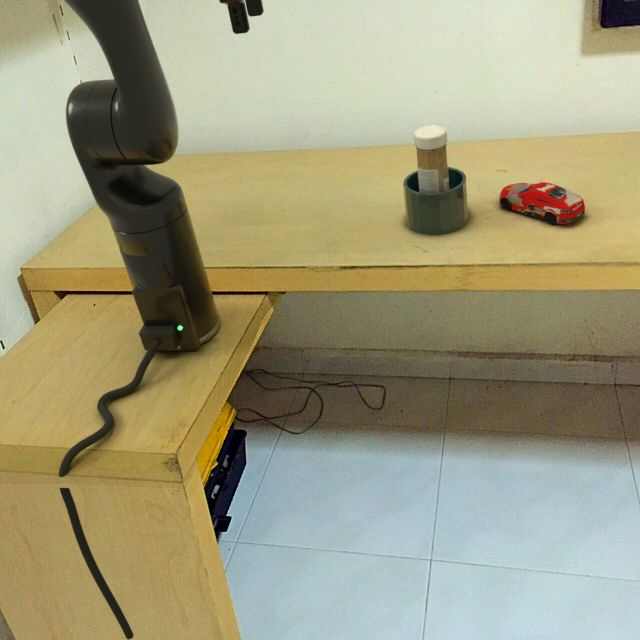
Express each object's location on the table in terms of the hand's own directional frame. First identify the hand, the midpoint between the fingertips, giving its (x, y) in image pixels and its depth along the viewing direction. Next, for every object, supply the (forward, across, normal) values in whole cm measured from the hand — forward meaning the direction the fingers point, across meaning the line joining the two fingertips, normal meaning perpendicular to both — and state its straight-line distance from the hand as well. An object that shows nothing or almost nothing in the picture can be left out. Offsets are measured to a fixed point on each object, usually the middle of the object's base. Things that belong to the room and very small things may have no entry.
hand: (249, 23), depth 103 cm
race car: (+30, -3, -39) cm, 49 cm away
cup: (+30, -4, -24) cm, 39 cm away
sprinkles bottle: (+30, -4, -24) cm, 38 cm away
